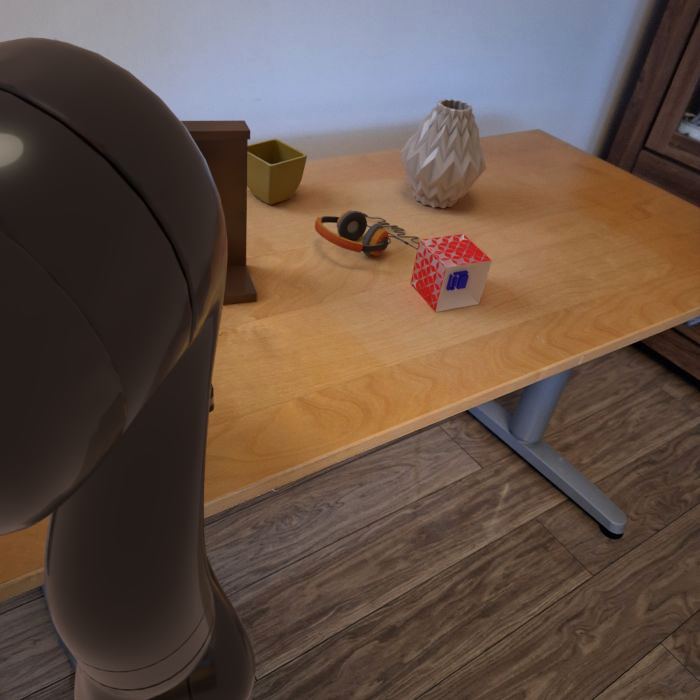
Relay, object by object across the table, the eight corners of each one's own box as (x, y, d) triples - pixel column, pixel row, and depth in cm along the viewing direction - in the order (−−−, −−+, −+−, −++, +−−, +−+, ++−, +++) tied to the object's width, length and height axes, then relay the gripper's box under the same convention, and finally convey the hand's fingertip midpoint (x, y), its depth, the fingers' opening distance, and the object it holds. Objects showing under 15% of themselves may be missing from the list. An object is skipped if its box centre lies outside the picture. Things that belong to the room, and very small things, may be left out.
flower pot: (305, 201, 116) (308, 154, 110) (269, 213, 110) (271, 165, 105) (274, 183, 120) (276, 137, 114) (238, 194, 115) (238, 147, 109)
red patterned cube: (452, 276, 101) (463, 234, 96) (478, 304, 96) (492, 260, 91) (409, 283, 98) (419, 239, 93) (434, 312, 93) (445, 267, 88)
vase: (420, 174, 132) (438, 84, 120) (488, 202, 125) (514, 109, 113) (377, 196, 121) (392, 99, 109) (449, 227, 114) (473, 128, 102)
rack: (141, 313, 84) (121, 152, 70) (135, 273, 91) (116, 119, 77) (257, 301, 89) (261, 149, 75) (242, 264, 96) (243, 118, 82)
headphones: (446, 237, 105) (366, 243, 92) (435, 265, 108) (356, 274, 94) (378, 198, 114) (297, 198, 100) (370, 224, 117) (289, 228, 103)
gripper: (232, 421, 50) (199, 302, 61) (34, 453, 45) (40, 318, 57) (232, 480, 54) (202, 359, 66) (53, 515, 50) (55, 378, 61)
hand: (127, 341), depth 61 cm, fingers closed on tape, 6 cm apart
